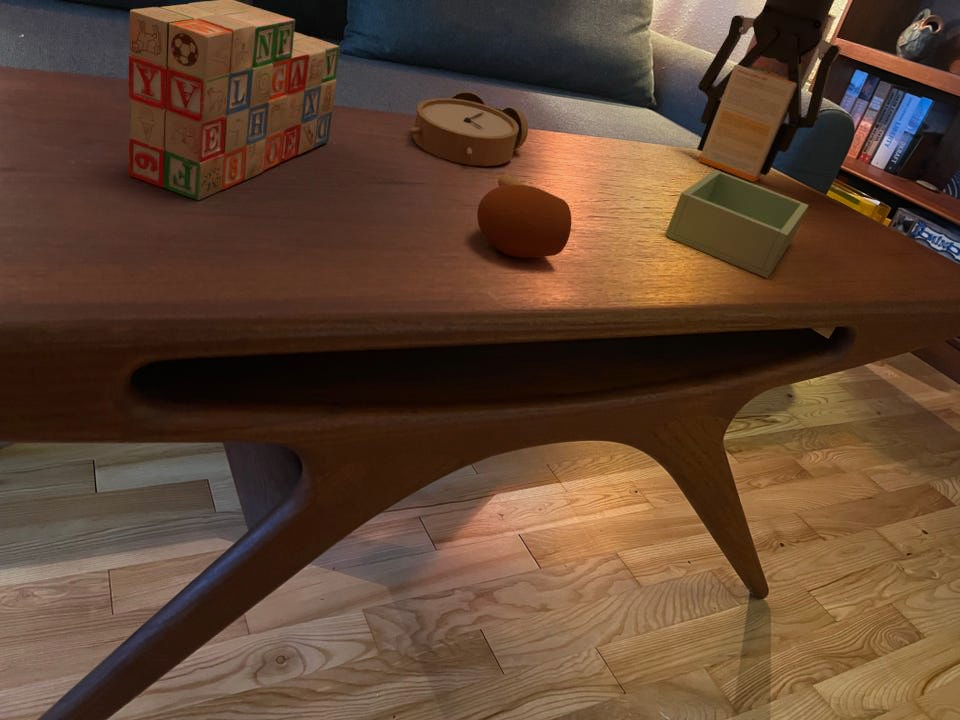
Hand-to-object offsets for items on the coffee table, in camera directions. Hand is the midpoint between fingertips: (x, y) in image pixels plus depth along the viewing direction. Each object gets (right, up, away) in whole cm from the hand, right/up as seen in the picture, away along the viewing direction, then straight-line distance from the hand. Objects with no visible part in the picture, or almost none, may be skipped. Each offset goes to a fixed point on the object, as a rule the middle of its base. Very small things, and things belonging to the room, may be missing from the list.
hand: (733, 160), depth 106 cm
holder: (-8, -15, -25) cm, 30 cm away
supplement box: (0, -1, +1) cm, 2 cm away
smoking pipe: (-33, -15, -36) cm, 51 cm away
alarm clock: (-36, -3, -18) cm, 40 cm away
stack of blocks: (-55, -10, -38) cm, 68 cm away
